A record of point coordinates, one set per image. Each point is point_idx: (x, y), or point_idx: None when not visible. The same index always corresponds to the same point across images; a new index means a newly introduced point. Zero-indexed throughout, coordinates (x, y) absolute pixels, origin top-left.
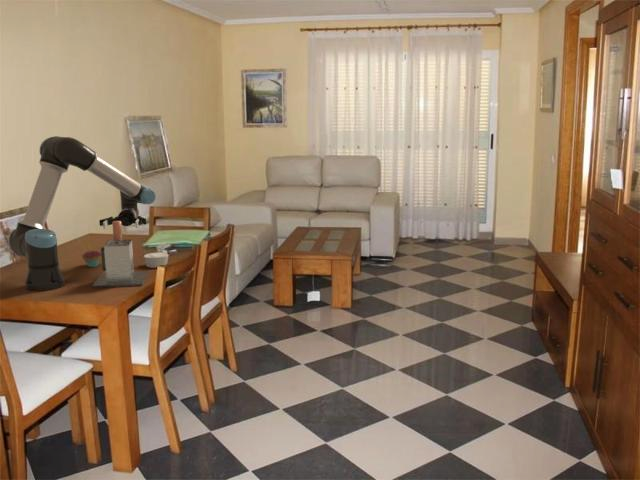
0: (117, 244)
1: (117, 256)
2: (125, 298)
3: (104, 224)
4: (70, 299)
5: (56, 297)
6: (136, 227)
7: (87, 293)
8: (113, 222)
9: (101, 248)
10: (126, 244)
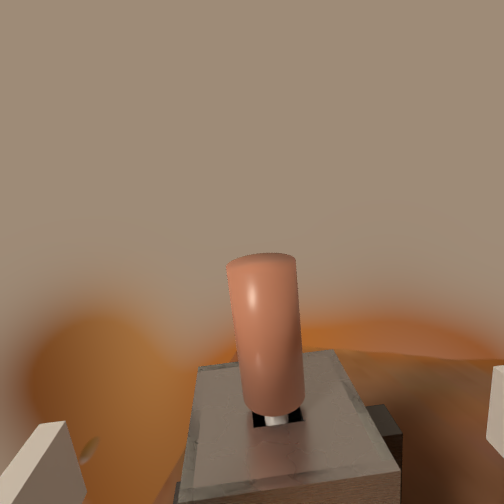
0: None
1: None
2: None
3: (498, 388)
4: (367, 369)
5: (421, 379)
6: (77, 488)
7: None
8: (279, 254)
9: (379, 407)
10: (212, 366)
